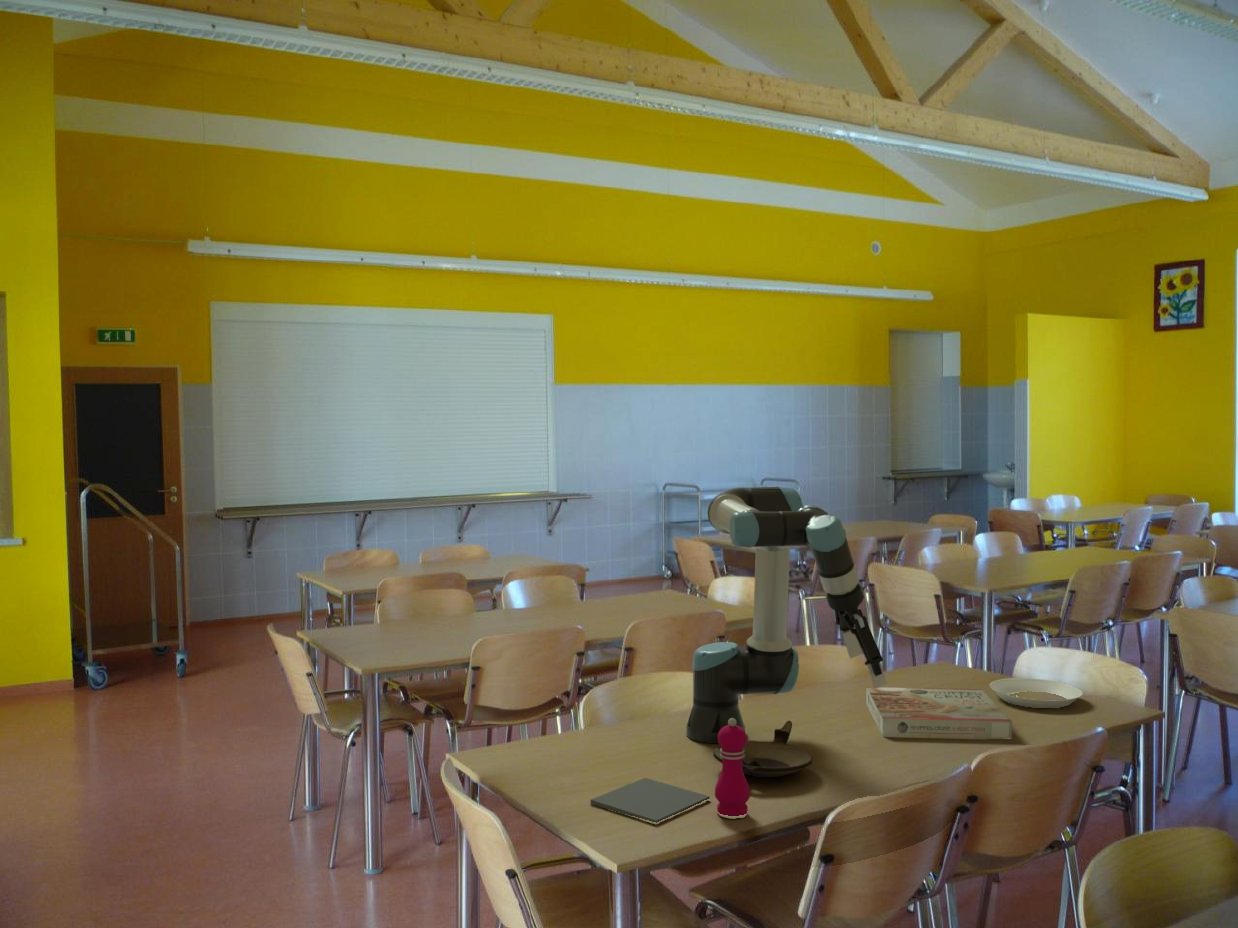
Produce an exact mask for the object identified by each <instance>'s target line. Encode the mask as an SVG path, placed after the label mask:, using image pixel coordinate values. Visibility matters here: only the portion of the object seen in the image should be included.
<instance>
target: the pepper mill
mask: <svg viewBox="0 0 1238 928" xmlns="http://www.w3.org/2000/svg"><path fill="white" fill-rule="evenodd" d="M728 724H729V725H727V726H724V727H723V728H722V729H721V730H720V731H719V733H718V743H717V744H719V746H720V748H719V749H720V752H721V753H720V756H721V757H722V761H723V763H721V764H722V765H721V767H722V768H721V772H720V774H719V777H718V779H717V782H716V784H715V787H714V797H715V799H716V801H718V803H717V805H716V809H717V810H716V811H718V812H719V813H720V814H723V815H728V816H739V815H744V814H746V813H747V811H749V808H748V804H747V802H748V801H749V800H750V797H751V791H750V787H749V783H748V781H747V779H746V776H745V774H744V773H743V769H742V764H743V763H742V758H743V757H744V756H745V755H744V751H745V750H744V749H743V747H744V746H745V745H746V743H747V741H748V735H747V733H746V730H745V731H744V730H743V728H741V727H739V726H737V725H736V724H737V722H736V720H735V719H734V718H730V719H729V720H728Z"/></svg>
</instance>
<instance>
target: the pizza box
mask: <svg viewBox="0 0 1238 928" xmlns="http://www.w3.org/2000/svg"><path fill="white" fill-rule="evenodd" d="M865 688H866V689H865V692H866V694H865V695H866V696H865V697H866V699H865V700H866V702H865V703H866V706H867V708H868V710H869V712H870V714H871V716H872V718H873V720H874V721H875V724H876V726H877V728H878V731H879V732H880V734H881V736H882V737H883V738H906V739H908V738H910V739H911V738H914V739H946V740H947V739H952V740H954V739H957V740H987V739H1004V738H1006V739H1007V738H1012V739H1013V721H1012V719H1011V718H1010V717H1008V715H1007V714H1006V713H1005V712H1004V711H1003V710H1002V709H1001V708H1000V707H999V706H998V705H997V703H995V702H994V700H993V699H992V698H991V697H990V696H989V695H988V694H987V693H986V692H985V691H984V690H983V689H982V688H951V687H949V688H948V687H947V688H943V687H939V688H938V687H892V686H891V687H889V686H888V687H887V686H880V687H878V688H874V686H866V687H865Z"/></svg>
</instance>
